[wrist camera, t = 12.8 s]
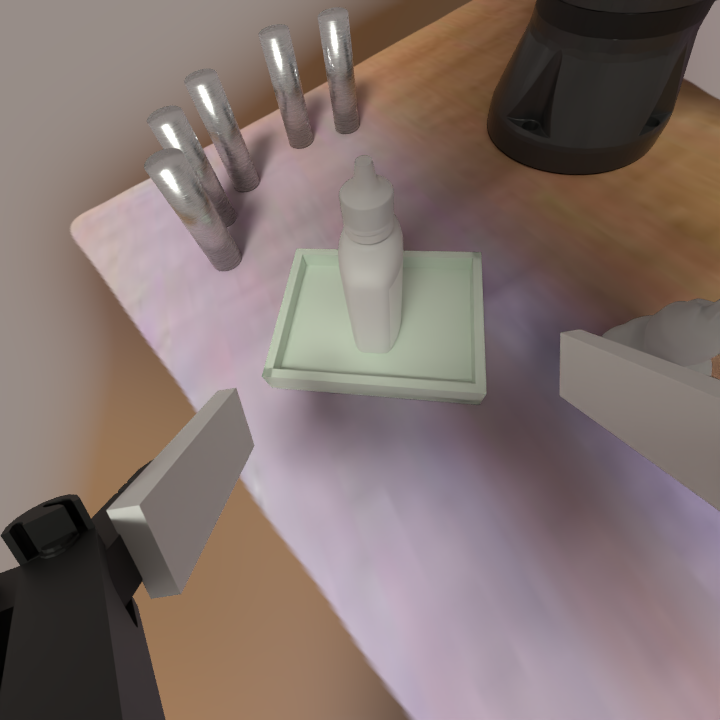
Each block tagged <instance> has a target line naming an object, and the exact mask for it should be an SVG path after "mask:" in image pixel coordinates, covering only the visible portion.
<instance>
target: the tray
mask: <svg viewBox="0 0 720 720" xmlns="http://www.w3.org/2000/svg"><path fill="white" fill-rule="evenodd" d="M262 377H263V378H264V379H265V380H266V381H267V383H268V384H269V385H270V386H271V387H272V388H281V389H293V390H306V391H318V392H330V393H342V394H354V395H366V396H378V397H390V398H402V399H414V400H426V401H438V402H450V403H462V404H474V405H480V403H481V402H482V400H483V399H484V397H485V395H486V367H485V340H484V313H483V287H482V260H481V252H448V251H403V280H402V310H401V325H400V330H399V334H398V337H397V339H396V342H395V344H394V346H393V347H392V349H391V350H390V351H389V352H388V353H364V352H361V351H360V350H359V349H358V348H357V346H356V343H355V340H354V336H353V332H352V327H351V322H350V318H349V313H348V308H347V304H346V299H345V294H344V289H343V284H342V279H341V274H340V269H339V262H338V249H296V253H295V256H294V260H293V264H292V267H291V271H290V275H289V278H288V282H287V286H286V289H285V293H284V297H283V300H282V304H281V308H280V311H279V315H278V319H277V322H276V326H275V330H274V334H273V337H272V341H271V345H270V348H269V352H268V356H267V359H266V363H265V367H264V370H263V374H262Z"/></svg>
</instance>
